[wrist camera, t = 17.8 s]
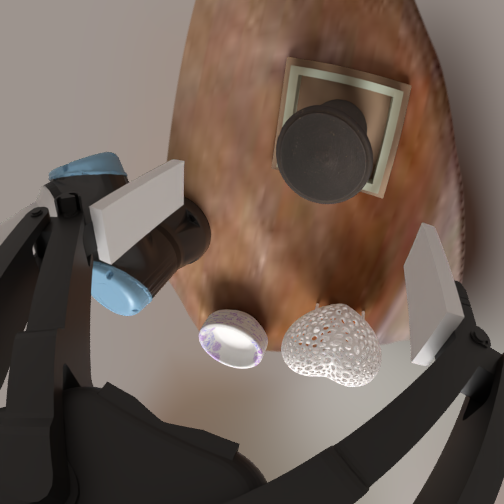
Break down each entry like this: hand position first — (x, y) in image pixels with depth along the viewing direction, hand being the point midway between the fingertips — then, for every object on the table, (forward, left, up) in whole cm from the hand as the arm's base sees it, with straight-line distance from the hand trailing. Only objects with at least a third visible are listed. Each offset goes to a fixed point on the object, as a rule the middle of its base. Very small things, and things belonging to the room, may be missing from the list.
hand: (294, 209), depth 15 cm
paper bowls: (-11, -48, -32) cm, 59 cm away
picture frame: (0, 0, -32) cm, 32 cm away
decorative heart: (+9, -34, -32) cm, 48 cm away
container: (0, 0, -31) cm, 31 cm away
